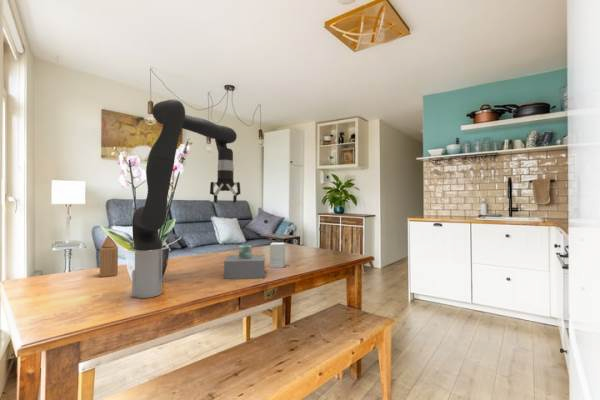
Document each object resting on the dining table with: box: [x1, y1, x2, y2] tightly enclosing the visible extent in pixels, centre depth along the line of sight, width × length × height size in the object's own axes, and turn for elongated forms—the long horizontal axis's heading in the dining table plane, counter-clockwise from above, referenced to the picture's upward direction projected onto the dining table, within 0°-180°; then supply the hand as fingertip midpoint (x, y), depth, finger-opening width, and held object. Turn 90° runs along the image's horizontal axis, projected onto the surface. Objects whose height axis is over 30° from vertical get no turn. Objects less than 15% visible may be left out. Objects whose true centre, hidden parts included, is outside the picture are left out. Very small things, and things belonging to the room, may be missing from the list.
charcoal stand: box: [223, 253, 266, 280], centre depth 143 cm, size 18×16×8 cm
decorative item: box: [99, 235, 119, 278], centre depth 140 cm, size 7×7×20 cm
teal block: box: [238, 244, 252, 259], centre depth 143 cm, size 6×6×6 cm
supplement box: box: [269, 242, 286, 269], centre depth 161 cm, size 7×7×13 cm
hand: (225, 203), depth 144 cm, fingers open, 8 cm apart
